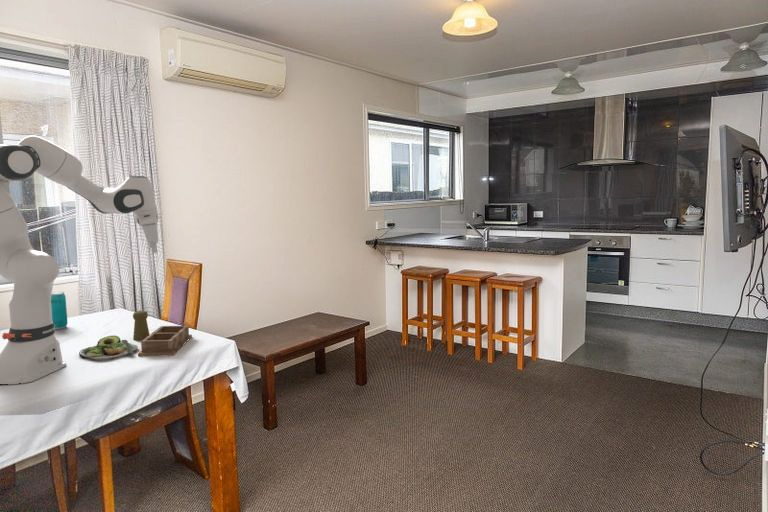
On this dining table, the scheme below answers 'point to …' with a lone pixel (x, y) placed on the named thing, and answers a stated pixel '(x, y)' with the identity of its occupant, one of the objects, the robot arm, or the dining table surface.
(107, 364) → the dining table surface
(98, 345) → the salad plate
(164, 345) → the walnut rack
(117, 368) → the dining table surface
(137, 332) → the cork
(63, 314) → the beverage can
